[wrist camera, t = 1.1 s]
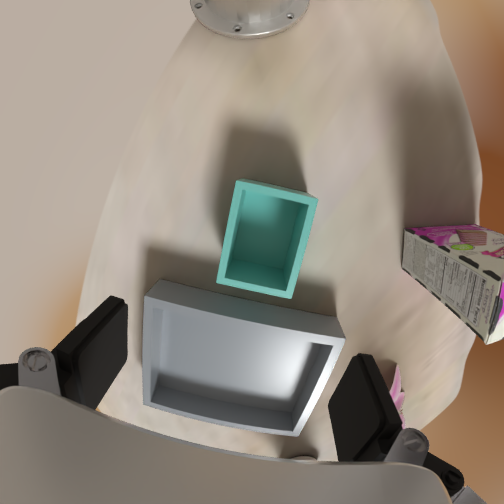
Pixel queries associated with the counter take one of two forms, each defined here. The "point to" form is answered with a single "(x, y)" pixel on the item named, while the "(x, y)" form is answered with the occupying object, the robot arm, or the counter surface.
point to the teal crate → (265, 237)
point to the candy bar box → (461, 272)
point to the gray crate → (235, 358)
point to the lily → (398, 395)
